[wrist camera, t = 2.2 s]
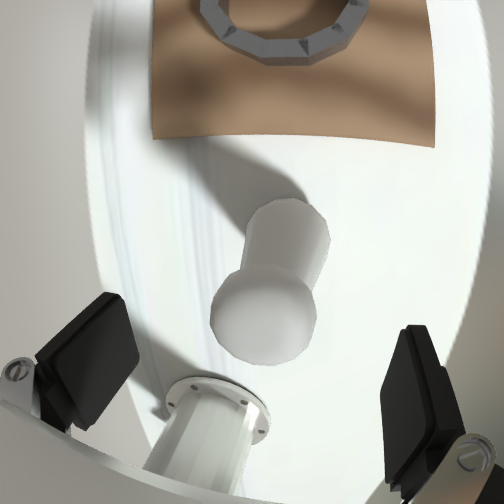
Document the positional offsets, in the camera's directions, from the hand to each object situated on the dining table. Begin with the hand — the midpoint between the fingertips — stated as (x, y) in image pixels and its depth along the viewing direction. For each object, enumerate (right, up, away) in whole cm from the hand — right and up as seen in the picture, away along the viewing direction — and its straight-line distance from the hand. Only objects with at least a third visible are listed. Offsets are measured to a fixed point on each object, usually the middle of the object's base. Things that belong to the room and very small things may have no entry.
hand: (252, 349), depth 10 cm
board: (+3, +21, +7) cm, 22 cm away
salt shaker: (+3, +5, +14) cm, 15 cm away
